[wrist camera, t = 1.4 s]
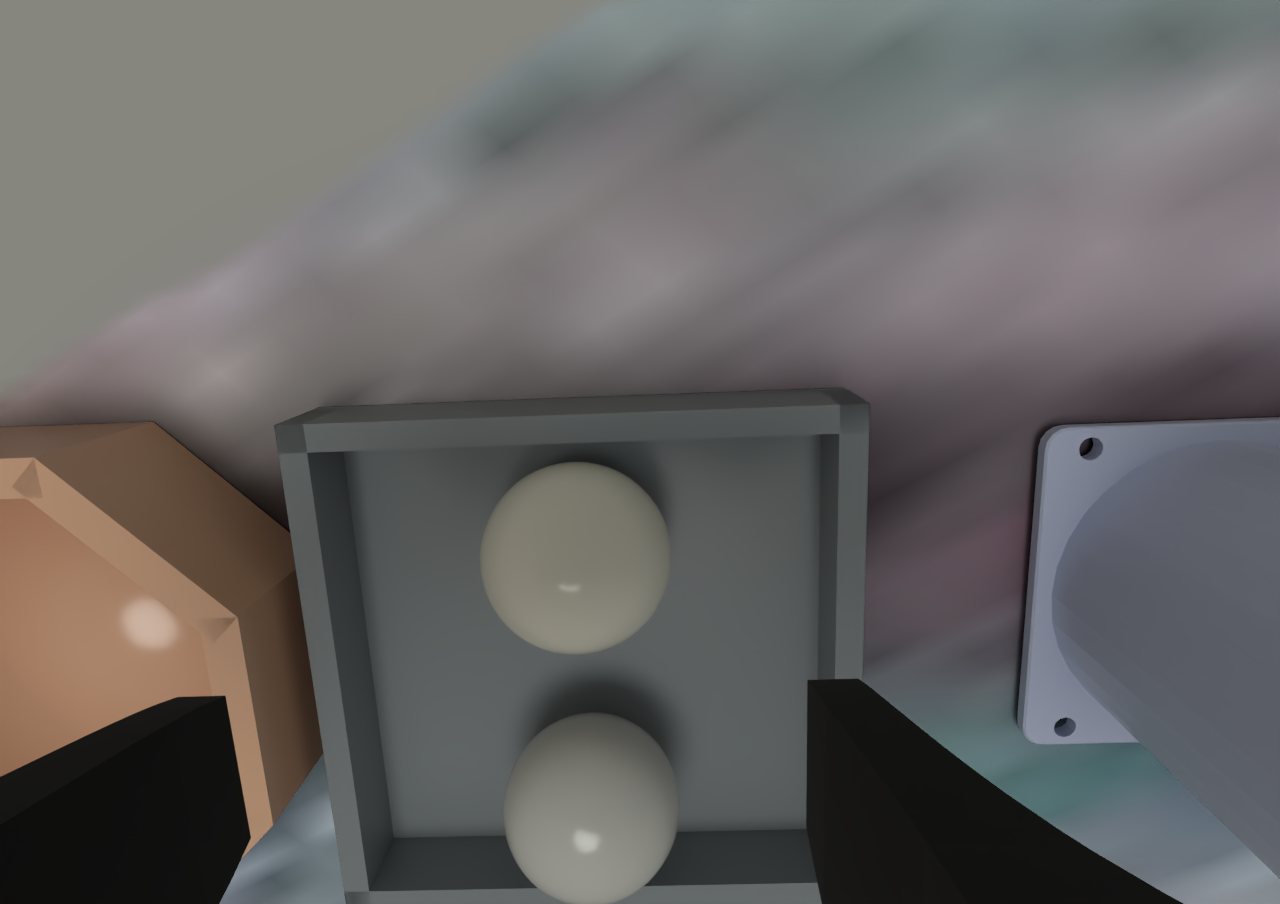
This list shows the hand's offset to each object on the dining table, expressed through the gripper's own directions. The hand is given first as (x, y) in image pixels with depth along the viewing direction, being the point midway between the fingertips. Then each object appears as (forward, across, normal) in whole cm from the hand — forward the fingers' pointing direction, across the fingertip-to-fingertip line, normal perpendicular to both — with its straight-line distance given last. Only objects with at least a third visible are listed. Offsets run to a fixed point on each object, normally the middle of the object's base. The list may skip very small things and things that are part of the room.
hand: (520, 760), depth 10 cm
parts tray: (+9, 0, +3) cm, 10 cm away
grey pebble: (+9, 0, +6) cm, 11 cm away
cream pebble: (+9, 0, 0) cm, 9 cm away
